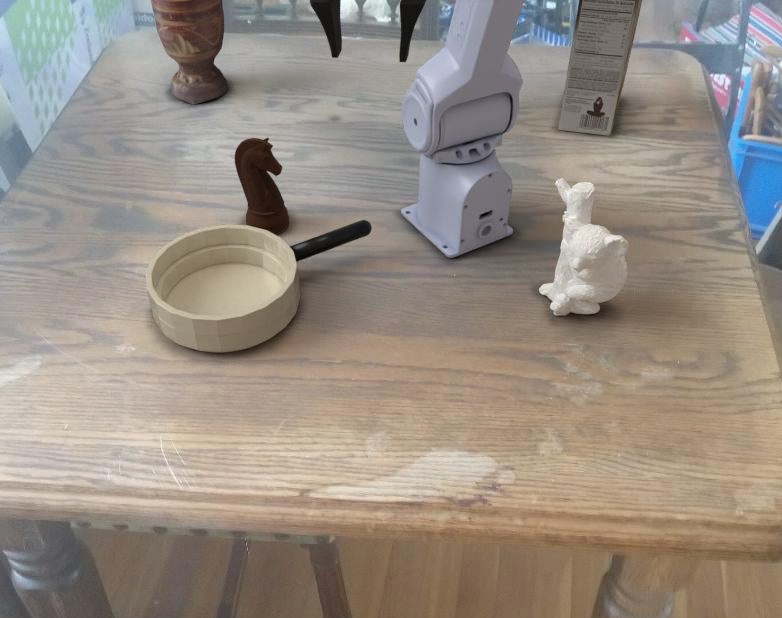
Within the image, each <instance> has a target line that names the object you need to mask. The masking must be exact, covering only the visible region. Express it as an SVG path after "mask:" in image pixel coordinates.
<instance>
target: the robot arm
mask: <svg viewBox="0 0 782 618" xmlns="http://www.w3.org/2000/svg"><path fill="white" fill-rule="evenodd" d="M341 2H342V0H309V4H310V7H311V9H312V10H313V11H314V13H315V15H316V17H317V18H318V20H319V22H320V24H321V27H322V29H323V32H324V34H325V36H326V39H327V43H328V46H329V50H330V53H331V54H330V55H331V58H332V59H338V58H339V57H340V54H341V53H342V51H343V50H342V49H343V36H342V35H343V34H342V23H341V5H342V4H341ZM426 2H427V0H400V1H399V13H400V14H399V15H400V40H399V41H400V43H399V52H398V53H399V54H398V55H399V56H398V57H399V58H398V59H399V63H407V61H408V57H409V54H410V47H411V42H412V37H413V33H414V31H415V26H416V25H417V22H418V20H419V17H420V16H421V13H422V11H423V9H424V8H425V4H426ZM524 3H525V0H455V4H454V8H453V12H452V17H451V20H450V24H449V29H448V32H447V36H446V40H445V44H444V47H443V48H441V49H440V50H439V51H438V52H437V53H436V54H435V55H433V56H432V57H431V58H430V59H428V60H427V61H426V62H425V63H423V65H421V66H420V67H419V68H418V69H417V70H416V72H415V76H414V80H413V83H412V85H411V86H410V87H409V88H408V89H407V90H406V92H405V95H404V98H403V100H402V105H401V119H402V125H403V130H404V132H405V135H406V138H407V140H408V142H409V144H410V145H411V146H412V148H413V149H415V151H416V152H418V153H419V167H418V170H419V171H418V192H417V202H416V203H413V204H411V205H407V206H405V207H402V208H401V209H400V214H401V216H403V217H404V218H405V219H406V220H407V222H409V223H411V225H412V226H413V227H414V228H416V229H417V230H418V231H419V232H420V233H421V234H422V235H423V236H424V237H425V238H426V239H428V241H430V243H432V244H433V245H434V246H435V247H436V248H437V249H438V251H439V250H440V252H442V253H443V254H444V255H445V256H446V257H447V258H449V259H453V258H456V257H458V256H462V255H464V254H466V253H468V252H471V251H474V250H476V249H479V248H481V247H483V246H487V245H488V244H491V243H494V242H496V241H500V240H501V239H504V238H506V237H509V236H511V235H513V232H514V229H513V228H512V227H511V226H510V225H508V223H509V217H510V216H509V215H510V208H511V200H512V195H513V194H512V193H513V180H512V178H511V176H510V174H509V173H508V172H507V171H506V170H505V169H504V168H503V165H501V163H500V161H499V159H498V156H497V154H496V153H497V152H496V148H498V147H501V146H502V144H503V137H504V135H505V134H507V133H509V132H511V131H512V130H513V129H514V128H515V125H516V122H517V120H518V116H519V111H520V91H521V88H522V86H523V84H524V79H523V76H522V75H521V72H520V69H519V67H518V65H517V63H516V62H515V60H514V58H513V57H512V56H511V54H509V53H508V51H509V48H510V45H511V43H512V39H513V36H514V33H515V30H516V27H517V24H518V21H519V18H520V15H521V12H522V9H523V6H524Z"/></svg>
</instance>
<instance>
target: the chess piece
mask: <svg viewBox="0 0 782 618" xmlns="http://www.w3.org/2000/svg"><path fill="white" fill-rule="evenodd" d="M269 140H270V138H269V137H265V138H264V139H262V138H260V137H259V138H258V137H251V138H247V139H244V140H242V141H241V142H240V143H239V144H238V145H237V147H236V149H235V152H234V166H235V170H236V173H237V176H238V179H239V182H240V185H241V188H242V191H243V194H244V197H245V199H246V203H247V210H246V213H245V225H248V226H252V227H256V228H260V229H264V230H267V231H269V232H271V233H273V234H275V235H277V236H278V235H279V234H281V233H283V232H284V231H286V229H287V228H288V226H289V225H290V216H289V211H288V208H287V207H286V205H285V200H284V198H283V196H282V192H281V191H280V189H279V187H278V185H277V184H276V182H275V181H274V179H273V177H272V176H271V174H272V175H273V176H275V177H278V176H279V175H281V173H282V170H283V165H282V164H281V163H280V162H279V161H278V160H277V158H276V157H275V156H274V154H273V151H272V149H273V147H274V145H273V144H271V143H270V142H269Z"/></svg>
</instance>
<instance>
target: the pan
mask: <svg viewBox="0 0 782 618" xmlns="http://www.w3.org/2000/svg"><path fill="white" fill-rule="evenodd" d="M144 276H145V288H146V293H147V297H148V301H149V304H150V308H151V313H152V316H153V320H154V322H155V323H156V324H157V325H156V326H158V328H159V330H160V332H161V333H162V335H163V336H166V337H167V338H168V339H170V340H171V341H173V342H174V343H175V344H177V345H180V346H182V347H186V348H188V349H192V350H195V351H198V352H205V353H206V352H207V353H219V354H220V353H232V352H238V351H239V352H240V351H243V350H247V349H250V348H253V347H255V346H258V345H260V344H262V343H263V344H264V342H266V341H268V340H271V339H272V338H273V337H275V336H276V335H277V334H279V333H280V332H281V331H283V330H284V329H285V328H286V327H288V325H289V324H290V322H291V321H292V319H293V318H294V317H295V315H296V314H297V312H298V308H299V303H300V299H301V294H300V281H299V269H298V262H296V259H295V255H294V252H293V250H292V249H291V248H290V245H288V243H287V242H286V241H285V240H284V238H283V237H280V236H278V234H277V235H275V234H273V233H271V232H269V231H267V230H264V229H260V228H256V227H252V226H248V225H246V224H227V223H226V224H218V225H217V224H216V225H211V226H203V227H200V228H197V229H195V230H191V231H188V232H185V233H183V234H181V235H179V236H177V237H176V238H174V239H172V240H170V241H169V242H168V243H166V244H164V245H163V246H162V247H161V248H160V249H159V250H158V251H157V252H156V253H155V254H154V256H153V257H151V259H150V262H149V265H148V266H147V269H146V271H145V275H144Z"/></svg>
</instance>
